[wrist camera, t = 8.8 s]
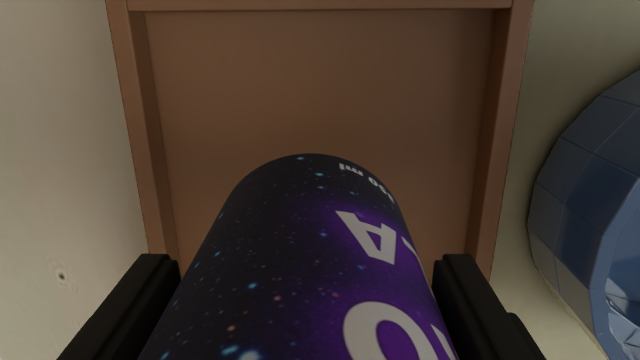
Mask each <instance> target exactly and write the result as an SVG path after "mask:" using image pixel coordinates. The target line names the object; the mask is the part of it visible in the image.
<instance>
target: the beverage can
mask: <svg viewBox="0 0 640 360" xmlns="http://www.w3.org/2000/svg"><path fill="white" fill-rule="evenodd" d="M137 360H459V358H458V355H457V353H456V350H455V348H454V345H453V342H452V340H451V337H450V335H449V332H448V330H447V327H446V325H445V322H444V319H443V317H442V314H441V312H440V309H439V307H438V304H437V302H436V299H435V296H434V294H433V291H432V289H431V286H430V284H429V281H428V279H427V276H426V273H425V271H424V268H423V266H422V263H421V261H420V258H419V256H418V253H417V250H416V248H415V245H414V243H413V240H412V238H411V235H410V233H409V230H408V228H407V225H406V222H405V220H404V217H403V215H402V212H401V210H400V207H399V205H398V203H397V201H396V200H395V198H394V196H393V195H392V193H391V192H390V191H389V189H388V188H387V187H386V186H385V185H384V184H383V183H382V182H381V181H380V180H379V179H378V178H377V177H376V176H375V175H373V174H372V173H371V172H369V171H368V170H366V169H365V168H363V167H361V166H360V165H358V164H356V163H353V162H351V161H349V160H346V159H343V158H340V157H336V156H332V155H326V154H317V153H304V154H295V155H289V156H284V157H281V158H278V159H275V160H272V161H270V162H267V163H265V164H263V165H261V166H260V167H258V168H256V169H255V170H253V171H252V172H250V173H249V174H248V175H247V176H245V177H244V178H243V179H242V180H241V181H240V182H239V183H238V184H237V185H236V186H235V188H234V189H233V190H232V192H231V193H230V194H229V196H228V198H227V200H226V201H225V203H224V205H223V207H222V208H221V210H220V212H219V214H218V216H217V217H216V219H215V221H214V223H213V225H212V226H211V228H210V230H209V232H208V234H207V235H206V237H205V239H204V241H203V242H202V244H201V246H200V248H199V250H198V251H197V253H196V255H195V257H194V259H193V260H192V262H191V264H190V266H189V268H188V269H187V271H186V273H185V275H184V277H183V278H182V280H181V282H180V284H179V285H178V287H177V289H176V291H175V293H174V294H173V296H172V298H171V300H170V302H169V303H168V305H167V307H166V309H165V311H164V312H163V314H162V316H161V318H160V320H159V321H158V323H157V325H156V327H155V328H154V330H153V332H152V334H151V336H150V337H149V339H148V341H147V343H146V345H145V346H144V348H143V350H142V352H141V354H140V355H139V357H138V359H137Z"/></svg>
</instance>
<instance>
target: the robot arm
mask: <svg viewBox="0 0 640 360" xmlns="http://www.w3.org/2000/svg"><path fill="white" fill-rule="evenodd" d="M180 282H181V276H180V270H179V264H178V262H177V260H171V258H170V256H169V255H168V254H141V255H140V256H139V257H138V258H137V260H136V261H135V262H134V263H133V265H132V266H131V267H130V269H129V270H128V271H127V272H126V274H125V275H124V276H123V277H122V279H121V280H120V281H119V282H118V284H117V285H116V286H115V287H114V289H113V290H112V291H111V292H110V294H109V295H108V296H107V297H106V299H105V300H104V301H103V303H102V304H101V305H100V306H99V308H98V309H97V310H96V311H95V313H94V314H93V315H92V316H91V317H90V318H89V319H88V321H87V322H86V323H85V324H84V326H83V327H82V328H81V329H80V331H79V332H78V333H77V334H76V336H75V337H74V338H73V339H72V341H71V342H70V343H69V344H68V346H67V347H66V348H65V349H64V351H63V352H62V353H61V354H60V356H59V357H58V358H57V359H56V360H137V359H138V357H139V355H140V354H141V352H142V350H143V348H144V346H145V345H146V343H147V341H148V339H149V337H150V336H151V334H152V332H153V330H154V328H155V327H156V325H157V323H158V321H159V320H160V318H161V316H162V314H163V312H164V311H165V309H166V307H167V305H168V303H169V302H170V300H171V298H172V296H173V294H174V293H175V291H176V289H177V287H178V285H179V284H180ZM431 289H432V291H433V294H434V296H435V299H436V302H437V304H438V307H439V309H440V312H441V314H442V317H443V319H444V322H445V325H446V327H447V330H448V332H449V335H450V337H451V340H452V342H453V345H454V348H455V350H456V353H457V355H458V358H459V360H546V358H545V357H544V355H543V354H542V352H541V351H540V349H539V347H538V346H537V344H536V343H535V341H534V340H533V338H532V337H531V335H530V334H529V332H528V331H527V329H526V327H525V326H524V324H523V323H522V321H521V320H520V319H519V317H518V316H517V315H516V314H514V313H507V312H506V310H505V309H504V307H503V306H502V304H501V302H500V301H499V299H498V297H497V296H496V294H495V293H494V291H493V289H492V288H491V286H490V284H489V283H488V281H487V280H486V278H485V276H484V275H483V273H482V272H481V270H480V268H479V267H478V265H477V263H476V262H475V260H474V259H473V257H472V256H471V254H444V255H443V257H442V260H435V262H434V267H433V277H432V287H431Z"/></svg>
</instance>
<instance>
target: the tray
mask: <svg viewBox="0 0 640 360" xmlns="http://www.w3.org/2000/svg"><path fill="white" fill-rule="evenodd" d="M105 3H106V9H107V15H108V20H109V26H110V32H111V38H112V43H113V49H114V55H115V60H116V66H117V72H118V78H119V83H120V89H121V95H122V100H123V106H124V112H125V118H126V123H127V129H128V135H129V140H130V146H131V152H132V158H133V163H134V169H135V175H136V180H137V186H138V192H139V198H140V203H141V209H142V215H143V220H144V226H145V232H146V238H147V243H148V249H149V254H168V255H169V256H170V258H171V260H177V262H178V264H179V270H180V276H181V280H182V278H183V277H184V275H185V273H186V271H187V269H188V268H189V266H190V264H191V262H192V260H193V259H194V257H195V255H196V253H197V251H198V250H199V248H200V246H201V244H202V242H203V241H204V239H205V237H206V235H207V234H208V232H209V230H210V228H211V226H212V225H213V223H214V221H215V219H216V217H217V216H218V214H219V212H220V210H221V208H222V207H223V205H224V203H225V201H226V200H227V198H228V196H229V194H230V193H231V192H232V190H233V189H234V188H235V186H236V185H237V184H238V183H239V182H240V181H241V180H242V179H243V178H244V177H245V176H247V175H248V174H249V173H250V172H252V171H253V170H255V169H256V168H258V167H260V166H261V165H263V164H265V163H267V162H270V161H272V160H275V159H278V158H281V157H284V156H289V155H295V154H304V153H317V154H326V155H332V156H336V157H340V158H343V159H346V160H349V161H351V162H353V163H356V164H358V165H360V166H361V167H363V168H365V169H366V170H368V171H369V172H371V173H372V174H373V175H375V176H376V177H377V178H378V179H379V180H380V181H381V182H382V183H383V184H384V185H385V186H386V187H387V188H388V189H389V191H390V192H391V193H392V195H393V196H394V198H395V200H396V201H397V203H398V205H399V207H400V210H401V212H402V215H403V217H404V220H405V222H406V225H407V228H408V230H409V233H410V235H411V238H412V240H413V243H414V245H415V248H416V250H417V253H418V256H419V258H420V261H421V263H422V266H423V268H424V271H425V273H426V276H427V279H428V281H429V284H430V286H431V287H432V277H433V267H434V262H435V260H442V257H443V255H444V254H471V256H472V257H473V259H474V260H475V262H476V263H477V265H478V267H479V268H480V270H481V272H482V273H483V275H484V276H485V278H486V280H487V281H488V283H489V281H490V274H491V268H492V262H493V255H494V249H495V243H496V237H497V230H498V224H499V218H500V212H501V205H502V199H503V193H504V186H505V180H506V174H507V168H508V161H509V155H510V149H511V143H512V136H513V130H514V124H515V118H516V111H517V105H518V99H519V92H520V86H521V80H522V74H523V67H524V61H525V55H526V49H527V42H528V36H529V30H530V23H531V17H532V11H533V5H534V0H105Z"/></svg>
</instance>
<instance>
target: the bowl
mask: <svg viewBox="0 0 640 360" xmlns="http://www.w3.org/2000/svg"><path fill="white" fill-rule="evenodd" d="M560 136H561V137H559V138H558V140H557V142H556V144H555V145H554V147H553V149H552V151H551V153H550V155H549V157H548V158H547V160H546V162H545V164H544V166H543V168H542V170H541V171H540V173H539V175H538V177H537V179H536V182H535V185H534V190H533V196H532V201H531V206H530V212H529V217H528V222H527V228H528V234H529V239H530V245H531V251H532V256H533V262H534V264H535V266H536V268H537V269H538V271H539V272H540V274H541V275H542V277H543V279H544V280H545V282H546V283H547V285H548V286H549V288H550V289H551V291H552V292H553V294H554V295H555V296H556V298H557V299H558V300H559V301H560V302H561V304H562V305H563V306H564V307H565V309H566V310H567V311H568V312H569V314H570V315H571V316H572V317H573V318H574V320H575V321H576V322H577V323H578V325H579V326H580V327H581V328H582V329H583V331H584V332H585V333H586V334H587V336H588V337H589V338H590V339H591V340H592V342H593V343H594V344H595V345H596V347H597V348H598V349H599V350H600V351H601V353H602V354H603V355H604V356H605V358H606V359H607V360H640V70H638V71H636V72H635V73H633V74H632V75H630V76H628V77H627V78H625V79H624V80H622V81H620V82H619V83H617V84H616V85H614V86H612V87H611V88H609V89H608V90H606V91H604V92H603V93H601V94H600V96H597V98H596V99H595V100H594V101H593V102H592V103H591V104H590V105H589V106H588V107H587V108H586V109H585V110H584V111H583V112H582V113H581V114H580V115H579V116H578V117H577V118H576V120H575V121H574V122H573V123H572V124H571V125H570V126H569V127H568V128H567V129H566V130H565V131H564V132H563V133H562V134H561V135H560Z"/></svg>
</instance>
